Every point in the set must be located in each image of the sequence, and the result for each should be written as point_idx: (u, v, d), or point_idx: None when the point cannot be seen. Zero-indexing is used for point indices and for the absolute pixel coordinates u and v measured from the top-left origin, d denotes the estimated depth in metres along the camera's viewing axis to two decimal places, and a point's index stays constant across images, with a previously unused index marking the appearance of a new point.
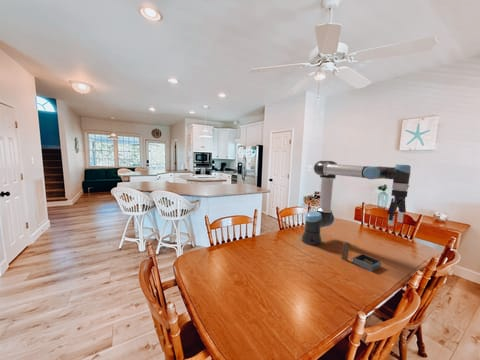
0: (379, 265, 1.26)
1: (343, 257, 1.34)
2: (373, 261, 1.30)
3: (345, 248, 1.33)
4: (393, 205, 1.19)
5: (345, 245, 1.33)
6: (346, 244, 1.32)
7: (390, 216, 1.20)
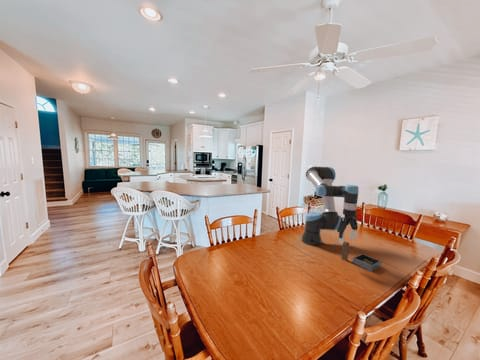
0: (379, 265, 1.26)
1: (343, 257, 1.34)
2: (373, 261, 1.30)
3: (345, 248, 1.33)
4: (342, 224, 1.27)
5: (345, 245, 1.33)
6: (346, 244, 1.32)
7: (340, 234, 1.28)
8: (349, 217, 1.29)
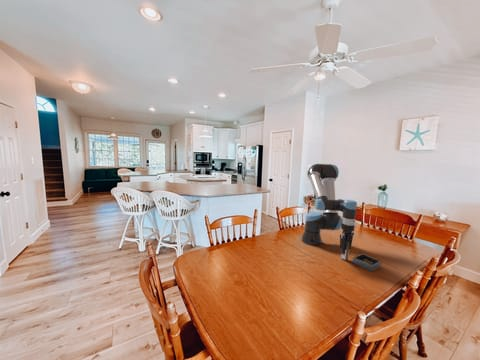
0: (379, 265, 1.26)
1: None
2: (373, 261, 1.30)
3: None
4: (342, 241, 1.30)
5: None
6: None
7: (342, 250, 1.32)
8: (347, 232, 1.31)
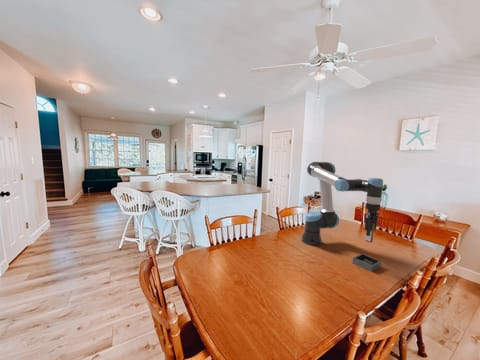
0: (379, 265, 1.26)
1: None
2: (373, 261, 1.30)
3: None
4: (367, 221, 1.22)
5: None
6: None
7: (367, 232, 1.25)
8: (373, 212, 1.23)
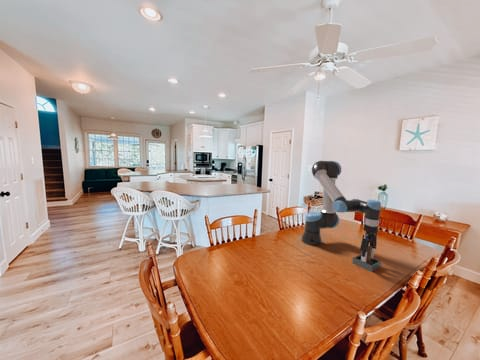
0: (379, 265, 1.26)
1: None
2: (373, 261, 1.30)
3: (368, 252, 1.27)
4: (364, 242, 1.23)
5: (367, 249, 1.27)
6: (369, 248, 1.26)
7: (363, 253, 1.24)
8: (371, 233, 1.25)
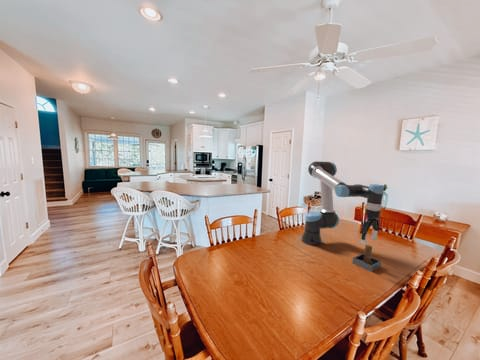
0: (379, 265, 1.26)
1: (365, 261, 1.28)
2: (373, 261, 1.30)
3: (368, 252, 1.27)
4: (365, 225, 1.21)
5: (367, 249, 1.27)
6: (369, 248, 1.26)
7: (362, 235, 1.22)
8: (372, 218, 1.24)
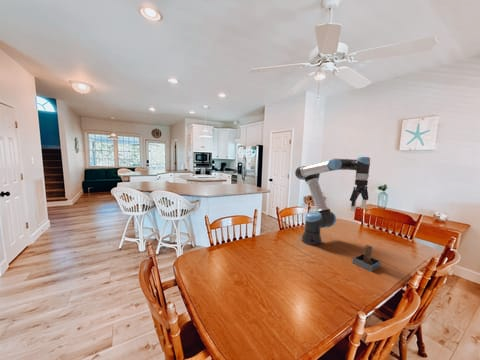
0: (379, 265, 1.26)
1: (365, 261, 1.28)
2: (373, 261, 1.30)
3: (368, 252, 1.27)
4: (354, 192, 1.35)
5: (367, 249, 1.27)
6: (369, 248, 1.26)
7: (352, 202, 1.36)
8: (361, 187, 1.37)
